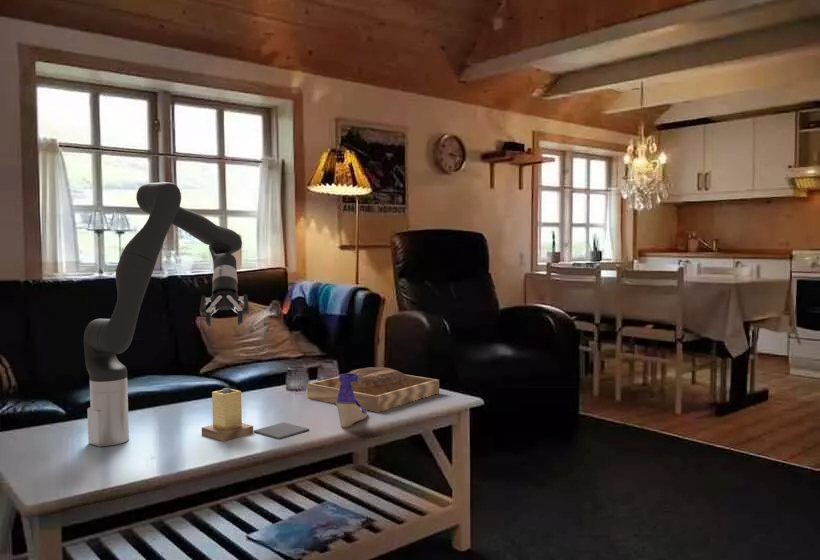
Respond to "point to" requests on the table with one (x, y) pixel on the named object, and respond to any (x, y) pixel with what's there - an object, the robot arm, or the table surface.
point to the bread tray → (380, 402)
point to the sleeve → (226, 409)
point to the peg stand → (227, 434)
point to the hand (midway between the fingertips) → (224, 324)
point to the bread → (378, 380)
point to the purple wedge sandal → (348, 402)
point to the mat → (280, 430)
